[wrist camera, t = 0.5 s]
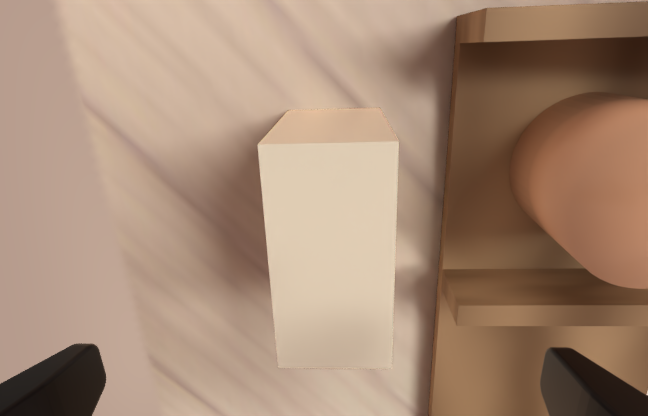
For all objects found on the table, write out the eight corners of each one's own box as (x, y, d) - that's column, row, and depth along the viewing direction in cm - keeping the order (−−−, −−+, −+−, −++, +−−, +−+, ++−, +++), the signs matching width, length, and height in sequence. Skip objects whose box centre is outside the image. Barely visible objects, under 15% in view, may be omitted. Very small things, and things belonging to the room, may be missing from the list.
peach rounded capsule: (674, 89, 17) (802, 106, 12) (638, 228, 19) (736, 288, 14) (518, 94, 17) (584, 111, 12) (501, 230, 19) (552, 289, 14)
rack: (747, 4, 16) (861, -8, 13) (618, 444, 24) (665, 511, 21) (456, 16, 17) (486, 8, 13) (426, 440, 25) (439, 505, 21)
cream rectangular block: (379, 107, 18) (399, 141, 12) (377, 269, 21) (392, 369, 15) (288, 109, 18) (257, 144, 12) (298, 270, 21) (277, 368, 15)
